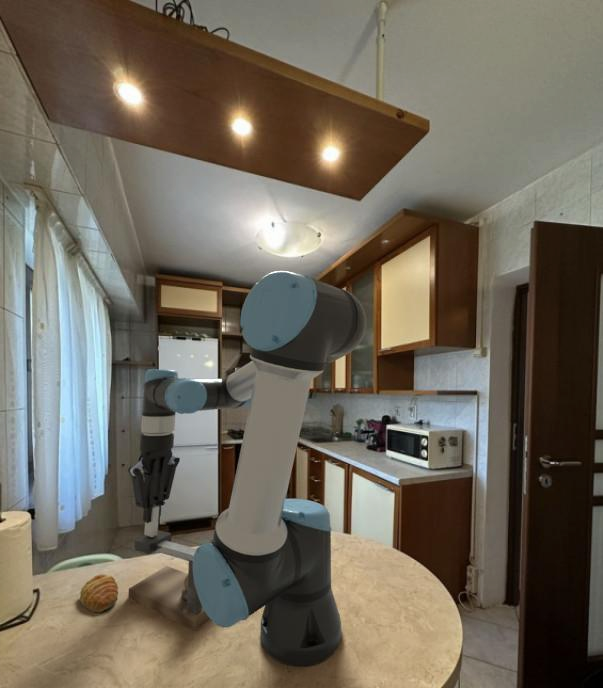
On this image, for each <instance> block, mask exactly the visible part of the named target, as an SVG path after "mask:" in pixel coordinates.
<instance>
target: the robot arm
mask: <svg viewBox="0 0 603 688" xmlns="http://www.w3.org/2000/svg"><path fill="white" fill-rule="evenodd" d="M239 321H240V327H241V329H242V331H241V334H242V337H243V339H244V341H245V342H246V343H247V345H248V346H250V347H251V348H250V351H249V353H250V354H249V358H250V359H251V361H250V362H248V363H246V364H245V365H243V366H242V367H241V368H239V369H237V370H235V371H233V373H230V374H229V375H227V376H225V377H223V378H191V377H190V378H185V377H182V378H179V376H178V372H177V370H176V369H155V368H154V369H152V368H151V369H147V370H146V371H145V376H144V382H143V395H142V396H143V398H142V411H141V412H142V413H141V425H140V431H141V435H140V438H139V451H140V455H139V457H138V462H137V463H136V464H135V465H133V466H130V467H129V468H128V470H127V472H128V473H129V475H130V477H131V482H132V488H133V489H132V490H133V495H134V501H135V506H136V507H138V508H140V509H143V515H142V521H143V522H144V533H143V534H144V536H146V535H147V536H150V537H154V536H156V535H157V533H158V530H159V519H160V518H161V515H162V506H164V505H165V504H166V500H169V498H170V497H171V496H170V495H171V491H172V488H173V487H172V486H173V482H174V479H175V475H176V470H177V467H178V465H179V463H180V461H181V459H180V457H177V456H176V457H175V456H174V455H173V451H172V449H173V448H174V446H175V445H174V443H175V442H174V441H175V434H174V431H175V430H176V429H175V427H176V413H177V414H181V415H183V414H194V413H197V412H201V411H214V410H226V409H229V410H230V409H231V410H234V409H235V410H236V409H239V408H245V407H247V406H249V408H248V413H247V418H246V424H245V427H244V433H243V436H242V437H243V438H242V442H241V447H240V451H239V457H238V462H237V466H236V467H237V468H236V471H235V472H236V473H235V476H234V482H233V485H232V492H231V496H230V502H229V506H228V508H227V509H225V510H223V511H222V512H221V513H220V515H218V517H217V519H216V523H215V526H214V527H215V528H214V533H213V537H212V539H211V540H210V541H204V542H203V543H202V544H201V545H199V546H198V547H197V548H195V549H196V551H195V553H194V557H193V578H194V583H195V587H196V590H197V594H198V597H199V600H200V602H201V604H202V607H203V609H204V610H205V612H206V614H207V615H208V617H209V619H210V620H211V622H213V623H214V624H215V625H217V626H218V627H221V628H230V627H233V626H234V625H236V624H237V623H240V622H241V621H247V619H248V618H249V617H250V616H252V615H253V614H255V613H256V612H258V611H259V610H260V609H262V608H263V611H262V614H261V619H260V641H261V645H262V647H263V649H264V650H265V651H266V652H267V654H268V655H270V657H271V658H273V659H275V660H276V661H278V662H280V663H282V664H286V665H289V666H295V667H307V666H312V665H315V664H319V663H321V662H323V661H326V660H327V659H329V658H330V657H331V656H332V655H333V654H334V653H335V652H336V650H337V649H338V647H339V645H340V644H341V641H342V622H341V619H342V618H341V614H340V613H339V612H340V611H339V609H338V606H337V602H336V599H335V596H334V592H333V589H332V544H331V543H332V539H331V537H332V536H331V534H332V532H331V531H332V527H331V516H330V512H329V510H328V509H327V507H326V506H325V505H323V504H321V503H318V502H316V501H312V500H310V499H309V500H308V499H303V498H302V499H301V498H287V494H288V489H289V484H290V481H291V480H290V479H291V476H292V475H291V474H292V469H293V466H294V462H295V457H296V452H297V447H298V444H299V438H300V434H301V430H302V425H303V420H304V415H305V411H306V406H307V401H308V397H309V393H310V388H311V383H312V381H313V379H315V378H316V377H318V376H319V375H321V374H322V373H324V370H325V366H327V365H329V364H331V363H333V362H335V361H337V360H340V359H341V358H343V357H345V356H347V355H349V354H350V353H351V352H353V351H354V350H355V349H356V348H357V347H358V346H359V345H360V344H361V342H362V340H363V339H364V337H365V334H366V329H367V315H366V311H365V309H364V307H363V305H362V303H361V302H360V300H359V299H358V297H356V296H355V295H354V294H353V293H351V292H350V291H348V290H346V289H343V288H342V287H341V288H340V287H335V286H334V285H331V284H328V283H326V282H322V281H320V280H317V279H315V278H314V277H310V276H308V275H305V274H301V273H295V272H291V271H286V270H278V271H273V272H270V273H267V274H266V275H264V276H263V277H261V279H260V280H259V281H258V282H256V283H255V284H254V285H253V286H252V288H251V290H249V292H248V294H247V296H246V298H245V299H244V303H243V304H242V308H241V314H240V320H239Z"/></svg>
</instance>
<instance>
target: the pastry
mask: <svg viewBox="0 0 603 688" xmlns="http://www.w3.org/2000/svg"><path fill="white" fill-rule="evenodd" d="M79 594H80V596H79V601H80V603H81V605H82V606H83V607H84V608H86V609H87V610H88V611H91V612H93V613H100V612H101V613H102V612H104V610H107V609H109V608H112V607H113V606H114V605H115V603H116V602H117V600H118V595H119V585H118V583H117V582H116V579H115V578H114V577H113V576H108V575H107V574H101V573H100V574H98V575H95V576H93V577H92V578H91V579H89V580H87V581H86V583H85V584H84V585H83V586H82V588H81V590H80V593H79Z"/></svg>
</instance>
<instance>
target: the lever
mask: <svg viewBox="0 0 603 688" xmlns="http://www.w3.org/2000/svg"><path fill="white" fill-rule="evenodd" d="M196 549H197V548H196V547H192V546H189V545H188V546H187V545H184V544H180V543H177V542H173V541H172V533H170V532H167V531H162V530H159V529H158V533H157V535H156V536H154V537H150V536H147V535H144V536H141V537H140V538H137V539H135V540H134V551H137V552H141V553H145V554H147V555H150V554H152V553H154V552H155V553H158V554H159V553H161V554H164V555H167V556H170V557H174V558H176V559H181V560H184V561H187V562H189V559H190V558H192V557H194V553H195V551H196Z"/></svg>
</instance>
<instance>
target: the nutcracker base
mask: <svg viewBox="0 0 603 688" xmlns="http://www.w3.org/2000/svg"><path fill="white" fill-rule="evenodd" d="M187 570H188V571H187V572H188V573H187V572H184V571H182V570H179V569H176V568H173V567H171V566H168V565H166V566H164V567H162V568H160V569H159V570H157V571H156V572H154V573H152V574H151V575H149V576H147V577H145V578H144V579H142V580H141V581H139V582H137V583H136V584H134V585H132V586H131V587H129V588H128V595H127V597H128V598H127V599H129V598H130V599H129V600H131V599H132V600H131V601H133V600H134V601H133V602H135V601H136V602H135V603H137V602H138V603H137V604H139V603H140V604H139V605H141V604H142V605H141V606H143V605H144V606H143V607H145V606H146V607H145V608H147V607H148V608H147V609H149V610H151V611H153V610H154V612H155V613H158V614H160V615H162V616H164V617H166V618H168V619H170V620H172V621H174V622H177V623H178V624H181V625H182V626H185V627H187V628H188V629H190V630H193V631H196V630H197V629H199V628H200V627H201V626H202V625H203V624H205V622H207V621H208V620H209V619H210V618H209V617H208V615H207V614H206V612H205V610H204V609H203V607H202V604H201V602H200V600H199V597H198V594H197V590H196V587H195V583H194V578H193V557H192V558H190V559H189V561H188V569H187Z"/></svg>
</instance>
